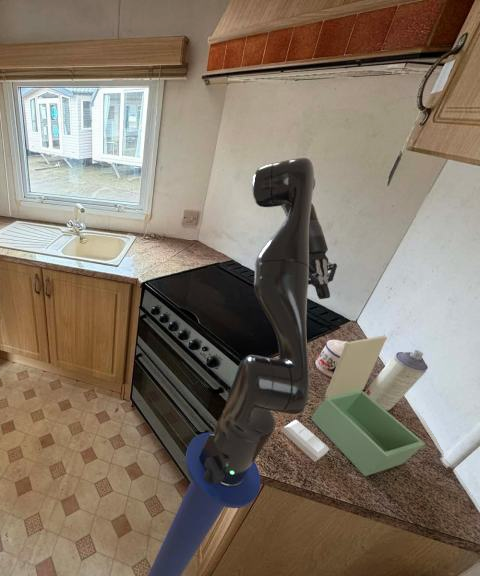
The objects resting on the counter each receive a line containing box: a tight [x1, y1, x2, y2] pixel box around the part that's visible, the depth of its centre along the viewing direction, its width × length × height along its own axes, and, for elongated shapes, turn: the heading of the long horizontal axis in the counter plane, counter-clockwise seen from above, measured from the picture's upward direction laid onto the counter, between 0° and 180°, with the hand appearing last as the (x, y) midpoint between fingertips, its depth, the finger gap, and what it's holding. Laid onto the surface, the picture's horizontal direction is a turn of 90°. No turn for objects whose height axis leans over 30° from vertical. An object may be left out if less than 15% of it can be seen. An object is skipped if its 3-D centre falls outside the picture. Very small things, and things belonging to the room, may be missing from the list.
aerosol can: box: [363, 349, 429, 412], centre depth 86 cm, size 7×7×20 cm
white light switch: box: [281, 419, 330, 463], centre depth 78 cm, size 5×9×3 cm, turn 28°
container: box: [310, 390, 426, 477], centre depth 78 cm, size 16×13×9 cm
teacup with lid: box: [315, 339, 348, 378], centre depth 97 cm, size 12×9×12 cm
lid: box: [324, 335, 388, 398], centre depth 78 cm, size 16×13×1 cm
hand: (324, 298), depth 85 cm, fingers closed
